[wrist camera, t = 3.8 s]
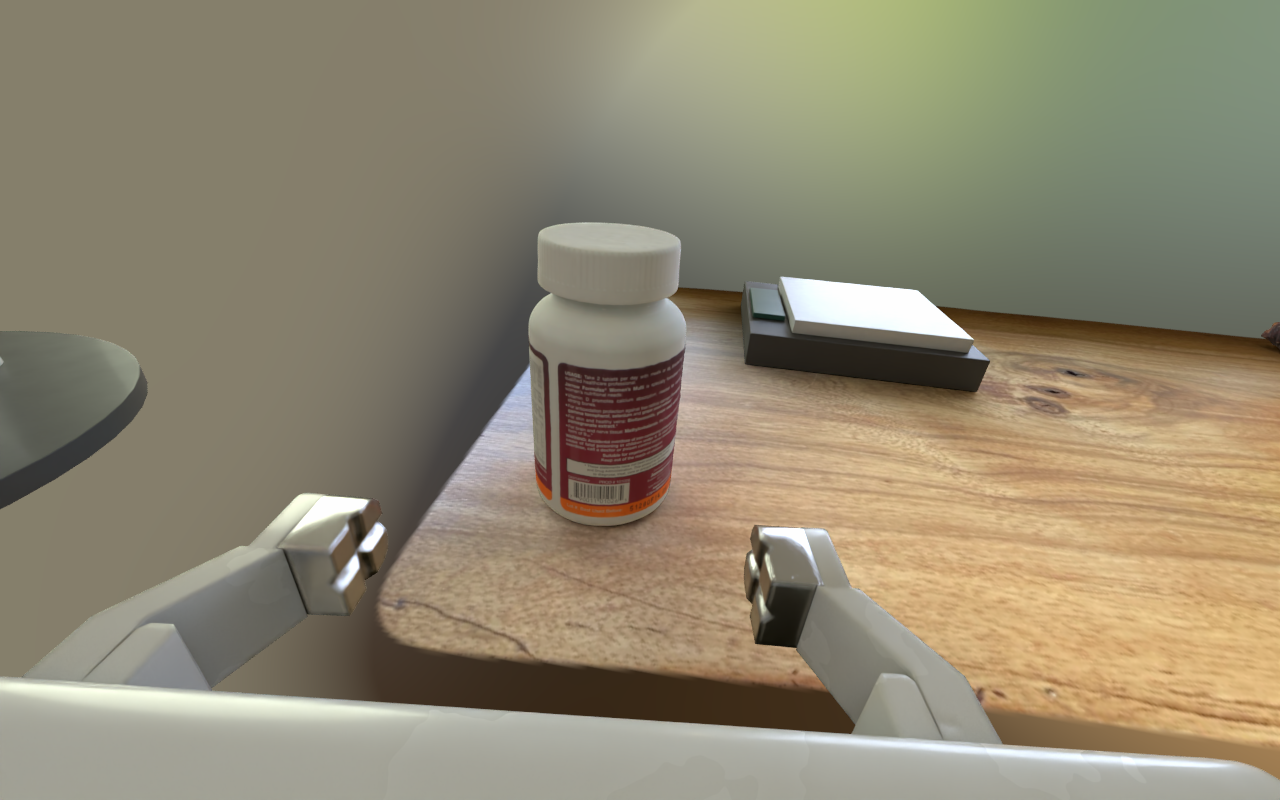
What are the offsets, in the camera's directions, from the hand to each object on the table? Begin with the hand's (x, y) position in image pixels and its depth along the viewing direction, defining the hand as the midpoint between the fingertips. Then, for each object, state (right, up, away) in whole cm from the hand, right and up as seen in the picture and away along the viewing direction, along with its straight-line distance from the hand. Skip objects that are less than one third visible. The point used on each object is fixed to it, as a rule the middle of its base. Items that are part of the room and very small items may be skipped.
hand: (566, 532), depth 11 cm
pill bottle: (0, -1, +13) cm, 13 cm away
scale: (+18, +8, +31) cm, 37 cm away
